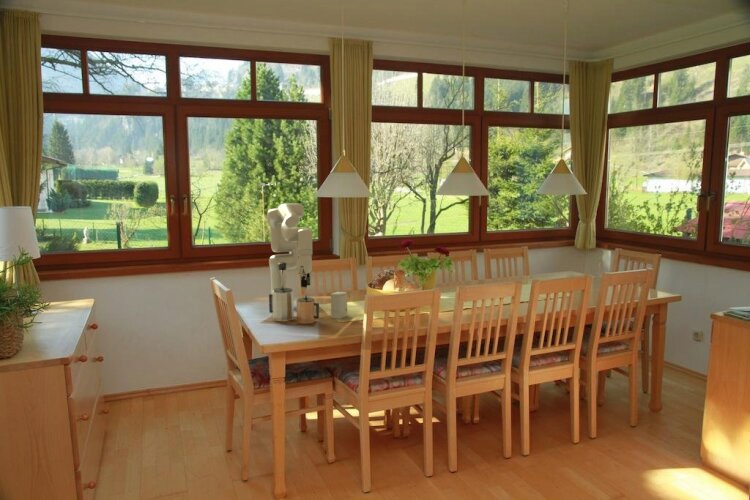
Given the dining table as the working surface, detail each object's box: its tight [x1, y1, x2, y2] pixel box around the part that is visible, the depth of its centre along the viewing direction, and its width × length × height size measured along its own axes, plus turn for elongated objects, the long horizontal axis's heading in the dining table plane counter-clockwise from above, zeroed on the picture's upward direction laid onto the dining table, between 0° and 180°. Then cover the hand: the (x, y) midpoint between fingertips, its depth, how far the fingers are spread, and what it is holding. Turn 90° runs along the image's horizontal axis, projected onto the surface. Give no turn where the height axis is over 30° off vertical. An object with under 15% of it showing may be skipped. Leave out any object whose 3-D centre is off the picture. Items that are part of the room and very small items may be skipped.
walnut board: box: [260, 314, 325, 328], centre depth 310 cm, size 18×30×1 cm, turn 77°
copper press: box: [296, 296, 320, 324], centre depth 306 cm, size 10×12×13 cm
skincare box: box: [330, 291, 348, 320], centre depth 317 cm, size 8×6×15 cm
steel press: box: [268, 287, 295, 322], centre depth 311 cm, size 11×13×17 cm
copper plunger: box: [304, 276, 311, 300], centre depth 305 cm, size 6×6×15 cm
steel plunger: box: [278, 262, 286, 290], centre depth 309 cm, size 8×8×19 cm
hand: (305, 285), depth 304 cm, fingers closed on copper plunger, 4 cm apart
